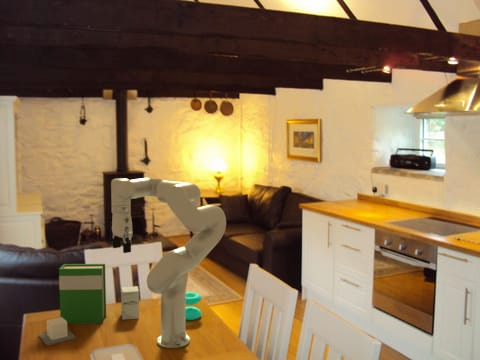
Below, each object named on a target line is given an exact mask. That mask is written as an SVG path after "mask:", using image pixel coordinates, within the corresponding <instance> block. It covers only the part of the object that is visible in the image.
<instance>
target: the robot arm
mask: <svg viewBox="0 0 480 360" xmlns="http://www.w3.org/2000/svg"><path fill="white" fill-rule="evenodd" d="M110 182H111V183H110V186H111V187H110V190H111V213H112V216H111V217H112V218H111V219H112V221H111V224H112V225H111V228H110V229H111V235H112V236H111V237H112V248H113V249H117V248H118V249H119V248H121V245H122V249H123V250H122V252H123V253H124V254H128V253H131V252H132V239H133V221H132V214H131V205H132V204H131V202H132V201H131V200H132V199H138V198H144V197H155V198H157V200H158V201H159V202H160V203H163V204H164V203H165V204H166V205H167V206H168V208H169V209H170V210H171V211H172V213H173V214H174V215H175V216H176V217H177V219H178V220H179V221H180V222H181V224H182V225H183V226H184V227H185V228H186V229H187V230H188V231H190V232H193V233H195V234H194V235H193V236H192V237H191V238H190V239H189V240H188V241H187V242H186V243H185V244H184V245H182V246H180V247H177V248H174V249H172V250H170V251H168V252H167V253H166V254H163V256H162V257H161V258H160V259H159V261H158V262H157V263H155V265H154V266H153V267H152V268H151V270H150V271H149V272H148V274H147V278H146V286H147V288H148V290H149V291H151V293H153V294H158V295H160V294H161V297H160V332H161V333H160V336H158V337H157V340H156V341H157V343H156V344H157V345H158V346H160V347H162V348H167V349H179V348H182V347H185V346H187V345H188V344H189V343H190V340H191V339H190V336H189V335H188V334H187V331H186V327H187V326H186V325H187V324H186V323H187V322H186V321H187V320H186V309H185V307H186V305H185V303H186V292H187V286H188V281H189V272H191V271H193V270H195V269H196V268H197V267H198V266H199V265H200V263H201V262H202V261H203V260H204V259H205V258H206V257H207V256H208V254H210V252H211V251H212V250H213V249H214V248H215V247H216V246H217V245H218V243H220V240H221V239H222V237H223V236H224V234H225V232H226V227H227V218H226V214H225V212H224V210H223V209H222V208H221V207H220V206H218V205H215V204H207V205H203V206H198V207H196V205H195V204H196V203H197V202H198V201H199V200H200V198H201V196H202V195H201V189H200V188H199V187H198V185H196V184H194V183H192V182H187V181H184V182H183V181H174V180H173V181H172V180H165V179H162V178H154V177H153V178H152V177H142V178H135V179H128V178H125V177H124V178H123V177H122V178H121V177H120V178H113V179H112V180H111V181H110ZM121 239H122V240H123V243H122V244H121V242H122V240H121Z"/></svg>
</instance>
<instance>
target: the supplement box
mask: <svg viewBox="0 0 480 360" xmlns="http://www.w3.org/2000/svg"><path fill="white" fill-rule="evenodd" d="M120 289H121V290H120V292H121V301H120V303H121V320H123V321H124V320H133V319H134V320H135V319H140V291H139V286H138V285H137V286H136V285H134V286H124V287H123V286H122V287H121V288H120Z"/></svg>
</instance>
